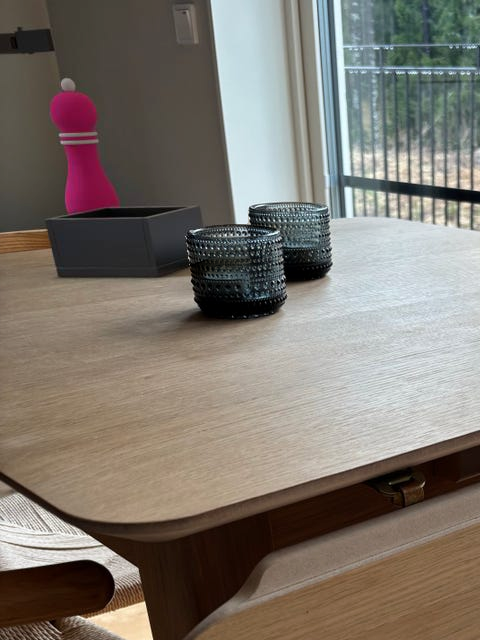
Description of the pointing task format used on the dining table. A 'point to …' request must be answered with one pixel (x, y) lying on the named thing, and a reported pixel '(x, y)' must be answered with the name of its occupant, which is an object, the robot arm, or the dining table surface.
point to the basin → (122, 241)
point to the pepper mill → (81, 151)
